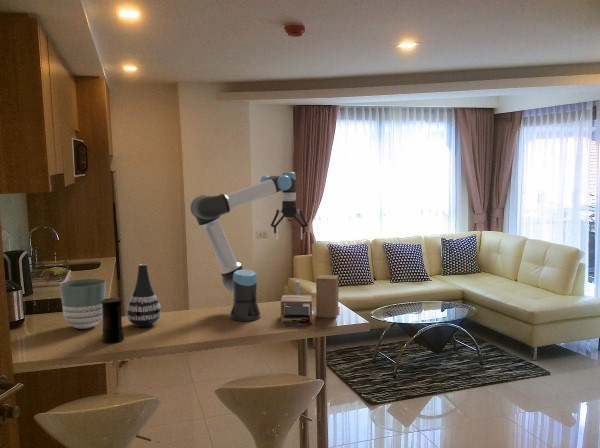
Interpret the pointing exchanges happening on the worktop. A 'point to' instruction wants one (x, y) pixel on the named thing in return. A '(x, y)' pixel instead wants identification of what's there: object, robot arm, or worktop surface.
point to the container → (112, 320)
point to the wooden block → (327, 296)
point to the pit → (296, 325)
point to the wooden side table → (296, 302)
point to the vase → (143, 301)
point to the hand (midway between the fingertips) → (289, 239)
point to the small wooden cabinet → (297, 309)
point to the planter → (83, 302)
